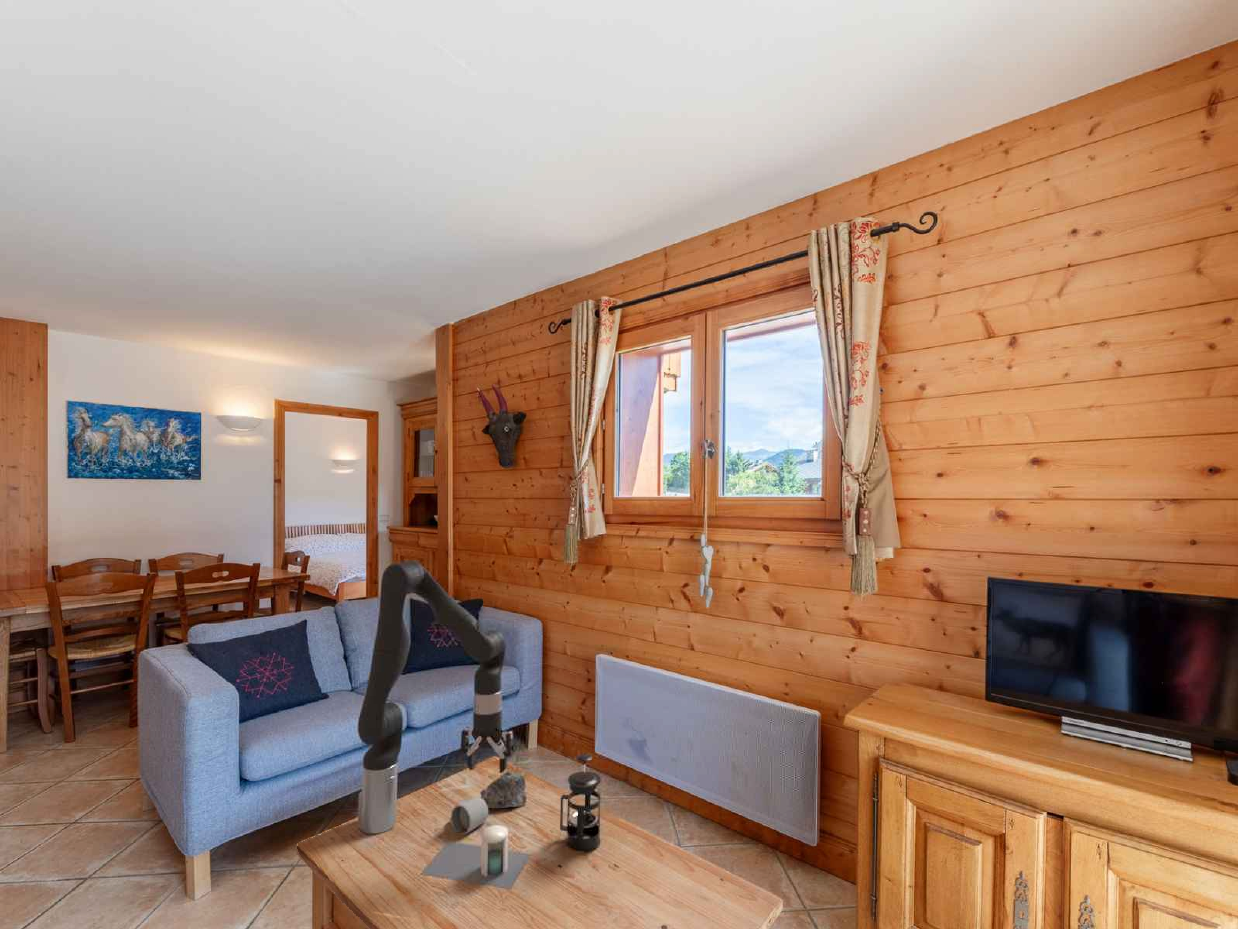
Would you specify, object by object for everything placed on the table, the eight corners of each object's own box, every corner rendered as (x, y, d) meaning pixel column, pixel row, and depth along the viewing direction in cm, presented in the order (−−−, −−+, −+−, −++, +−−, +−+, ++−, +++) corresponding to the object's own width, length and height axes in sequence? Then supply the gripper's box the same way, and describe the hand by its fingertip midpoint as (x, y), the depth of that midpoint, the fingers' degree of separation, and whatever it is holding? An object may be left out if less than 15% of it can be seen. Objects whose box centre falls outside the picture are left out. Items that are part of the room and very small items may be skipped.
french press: (605, 834, 166) (607, 750, 167) (599, 855, 157) (600, 766, 158) (564, 830, 168) (566, 747, 169) (556, 850, 159) (557, 762, 160)
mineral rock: (477, 811, 177) (477, 776, 178) (491, 793, 188) (492, 760, 188) (518, 816, 175) (519, 781, 175) (530, 797, 185) (531, 765, 186)
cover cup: (476, 875, 147) (477, 838, 148) (487, 859, 153) (488, 823, 154) (500, 879, 146) (501, 841, 146) (511, 863, 152) (511, 827, 152)
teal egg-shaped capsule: (483, 873, 148) (483, 858, 148) (490, 863, 152) (490, 849, 152) (498, 875, 147) (498, 861, 147) (504, 865, 151) (505, 851, 151)
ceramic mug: (490, 824, 170) (490, 797, 170) (469, 839, 163) (470, 810, 163) (463, 814, 175) (463, 787, 176) (442, 828, 168) (442, 800, 169)
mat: (419, 875, 147) (419, 873, 147) (447, 842, 161) (447, 841, 161) (511, 891, 142) (511, 889, 142) (531, 855, 156) (531, 854, 156)
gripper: (456, 711, 157) (455, 774, 156) (507, 715, 154) (507, 779, 153) (468, 701, 164) (468, 762, 164) (517, 705, 162) (517, 766, 161)
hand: (487, 770), depth 159 cm, fingers open, 8 cm apart
